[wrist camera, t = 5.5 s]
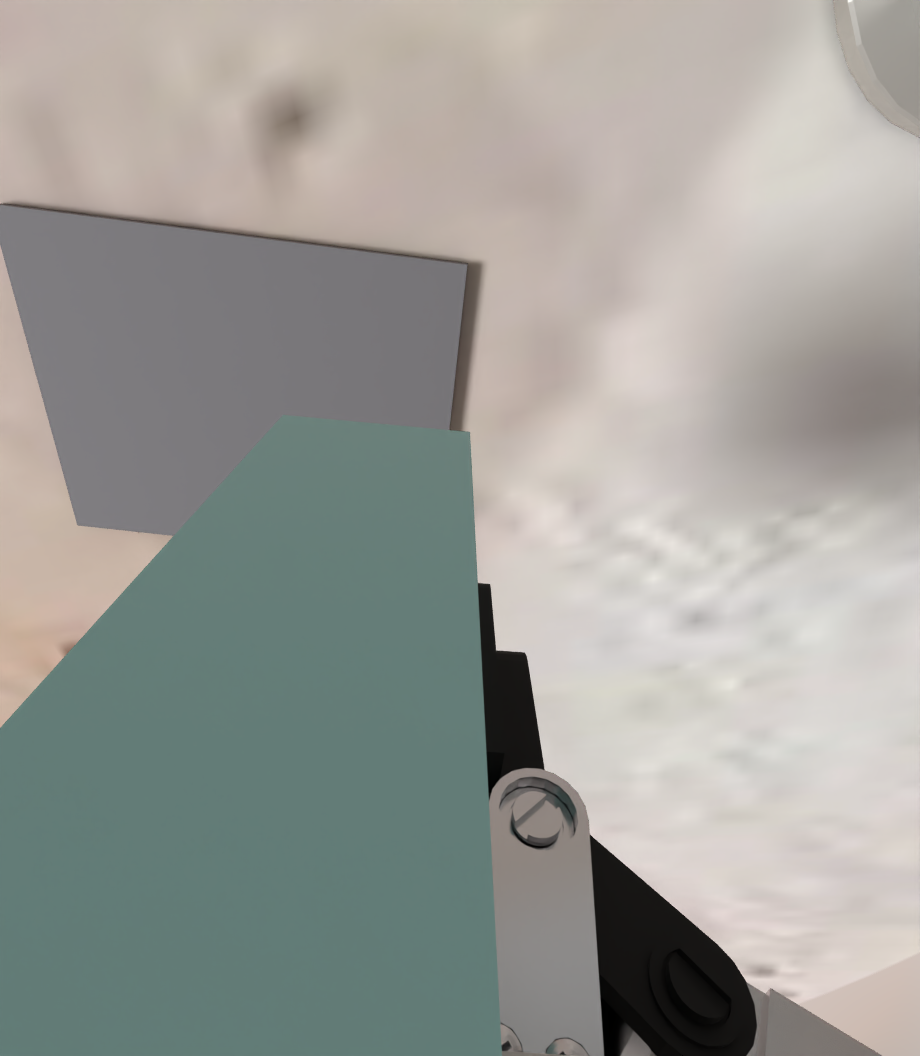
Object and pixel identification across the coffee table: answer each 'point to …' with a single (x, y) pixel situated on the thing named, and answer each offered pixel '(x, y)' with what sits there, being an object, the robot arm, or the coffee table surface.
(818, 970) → the coffee table surface
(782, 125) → the coffee table surface
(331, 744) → the teal slab
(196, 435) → the mat
